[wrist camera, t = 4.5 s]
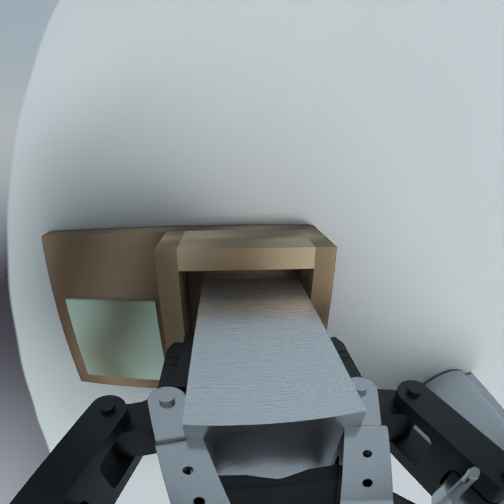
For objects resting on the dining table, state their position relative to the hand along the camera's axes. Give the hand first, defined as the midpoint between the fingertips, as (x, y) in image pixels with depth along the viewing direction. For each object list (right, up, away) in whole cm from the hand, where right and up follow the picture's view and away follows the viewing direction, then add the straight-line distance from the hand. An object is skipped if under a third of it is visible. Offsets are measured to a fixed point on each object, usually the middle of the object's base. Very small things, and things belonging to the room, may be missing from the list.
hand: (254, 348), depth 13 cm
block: (0, +1, +4) cm, 4 cm away
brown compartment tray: (-5, 0, +5) cm, 7 cm away
